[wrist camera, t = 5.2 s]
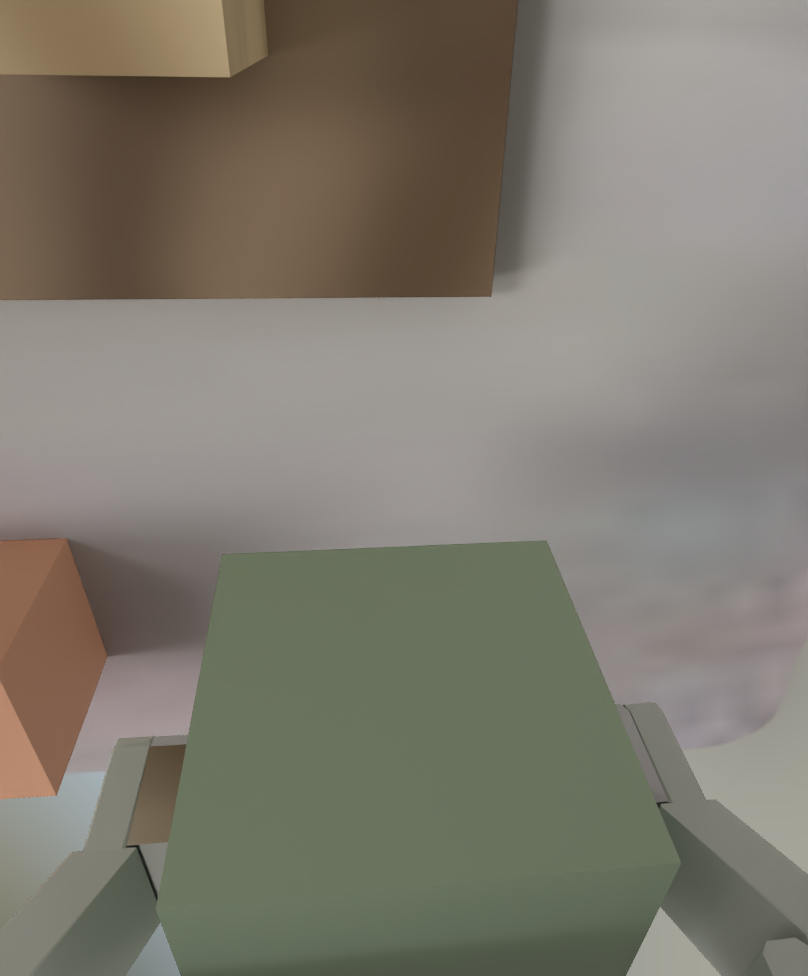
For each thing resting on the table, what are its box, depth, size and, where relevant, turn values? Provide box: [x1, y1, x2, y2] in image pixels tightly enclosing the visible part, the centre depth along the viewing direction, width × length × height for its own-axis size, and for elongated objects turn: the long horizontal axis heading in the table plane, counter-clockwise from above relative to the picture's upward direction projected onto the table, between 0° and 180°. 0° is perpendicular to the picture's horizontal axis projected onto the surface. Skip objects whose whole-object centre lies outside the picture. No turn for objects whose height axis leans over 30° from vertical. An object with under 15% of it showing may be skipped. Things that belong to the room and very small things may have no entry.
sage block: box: [156, 541, 681, 976], centre depth 10 cm, size 5×5×5 cm
